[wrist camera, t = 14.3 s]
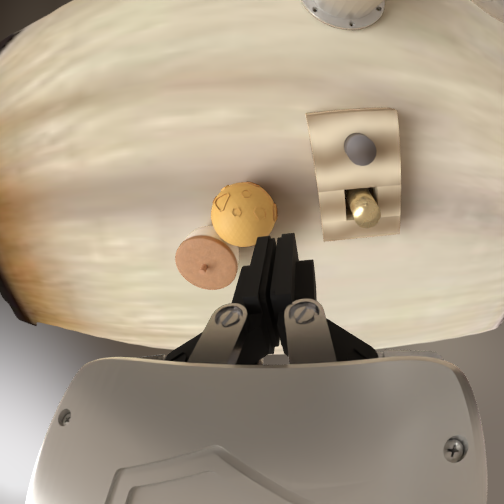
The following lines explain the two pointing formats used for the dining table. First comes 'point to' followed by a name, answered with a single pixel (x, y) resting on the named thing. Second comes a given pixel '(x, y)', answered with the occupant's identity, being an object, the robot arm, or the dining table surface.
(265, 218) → the stress ball
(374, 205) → the brass cylinder
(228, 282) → the lidded jar
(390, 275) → the dining table surface
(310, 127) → the jig
